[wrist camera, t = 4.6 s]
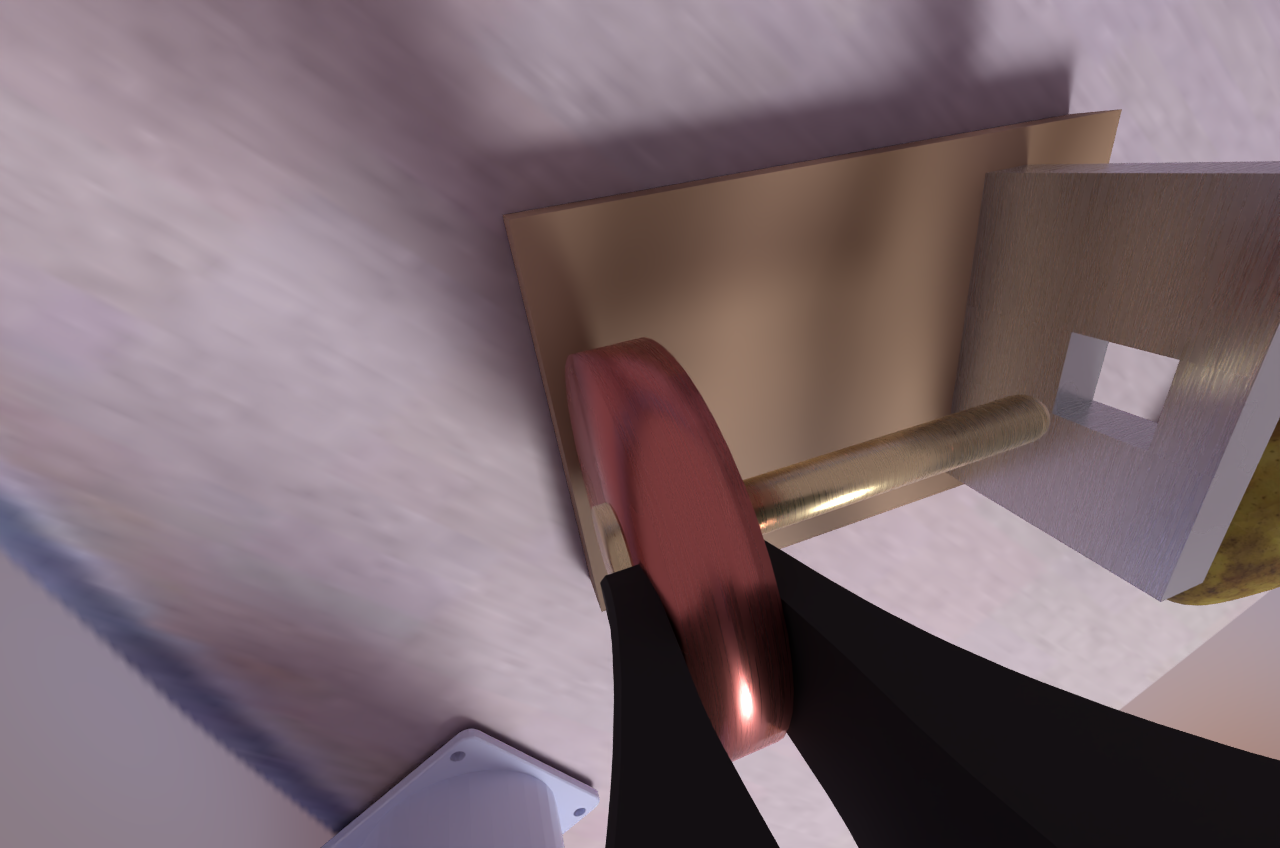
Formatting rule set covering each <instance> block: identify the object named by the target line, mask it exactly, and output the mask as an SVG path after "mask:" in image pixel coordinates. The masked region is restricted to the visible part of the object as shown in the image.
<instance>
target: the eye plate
mask: <svg viewBox="0 0 1280 848" xmlns="http://www.w3.org/2000/svg"><path fill="white" fill-rule="evenodd" d="M1109 342H1112V343H1116V344H1120V345H1124V346H1128V347H1132V348H1136V349H1140V350H1144V351H1147V352H1151V353H1155V354H1159V355H1163V356H1167V357H1171V358H1175V359H1179V360H1180V361H1179V364H1178V367H1177V370H1176V373H1175V376H1174V378H1173V381H1172V384H1171V387H1170V390H1169V393H1168V396H1167V398H1166V401H1165V404H1164V407H1163V410H1162V413H1161V416H1160V419H1159V421H1158V423H1156V422H1153V421H1150V420H1147V419H1144V418H1141V417H1139V416H1136V415H1133V414H1130V413H1127V412H1124V411H1122V410H1119V409H1116V408H1113V407H1110V406H1107V405H1105V404H1102V403H1099V402H1096V401H1093V396H1094V393H1095V389H1096V386H1097V382H1098V379H1099V375H1100V371H1101V368H1102V364H1103V361H1104V357H1105V353H1106V350H1107V346H1108V343H1109ZM1018 394H1020V395H1029V396H1032V397H1035V398H1037V399H1038V400H1040V401H1041V402H1042V403H1043V404H1044V405H1045V406H1046V407H1047V409H1048V411H1049V414H1050V425H1049V428H1048V430H1047V431H1046V433H1045V434H1044V435H1043V436H1042V437H1040V438H1039V439H1037V440H1036V441H1034V442H1031V443H1028V444H1025V445H1022V446H1020V447H1017V448H1014V449H1011V450H1008V451H1005V452H1002V453H999V454H996V455H993V456H990V457H987V458H985V459H982V460H979V461H976V462H973V463H970V464H967V465H964V466H961V467H958V468H955V469H953V470H950V471H947V472H946V473H947V474H949V475H951V476H952V477H954V478H956V479H957V480H959V481H961V482H962V483H964V484H966V485H967V486H969V487H971V488H972V489H974V490H976V491H977V492H979V493H981V494H982V495H984V496H986V497H987V498H989V499H991V500H992V501H994V502H996V503H997V504H999V505H1001V506H1002V507H1004V508H1006V509H1007V510H1009V511H1011V512H1012V513H1014V514H1015V515H1017V516H1019V517H1020V518H1022V519H1024V520H1025V521H1027V522H1029V523H1030V524H1032V525H1034V526H1035V527H1037V528H1039V529H1040V530H1042V531H1044V532H1045V533H1047V534H1049V535H1050V536H1052V537H1054V538H1055V539H1057V540H1059V541H1060V542H1062V543H1064V544H1065V545H1067V546H1069V547H1070V548H1072V549H1074V550H1075V551H1077V552H1079V553H1080V554H1082V555H1084V556H1085V557H1087V558H1089V559H1090V560H1092V561H1094V562H1095V563H1097V564H1099V565H1100V566H1102V567H1104V568H1105V569H1107V570H1109V571H1110V572H1112V573H1114V574H1115V575H1117V576H1119V577H1120V578H1122V579H1124V580H1125V581H1127V582H1129V583H1130V584H1132V585H1134V586H1135V587H1137V588H1138V589H1140V590H1142V591H1143V592H1145V593H1147V594H1148V595H1150V596H1152V597H1153V598H1155V599H1157V600H1158V601H1160V602H1162V601H1164V600H1166V599H1168V598H1170V597H1173V596H1175V595H1177V594H1179V593H1181V592H1184V591H1186V590H1188V589H1190V588H1192V587H1194V586H1197V585H1199V584H1201V583H1203V581H1204V579H1205V577H1206V575H1207V573H1208V570H1209V568H1210V566H1211V564H1212V562H1213V560H1214V557H1215V555H1216V553H1217V551H1218V549H1219V547H1220V545H1221V542H1222V540H1223V538H1224V536H1225V534H1226V532H1227V530H1228V527H1229V525H1230V523H1231V521H1232V519H1233V517H1234V515H1235V512H1236V510H1237V508H1238V506H1239V504H1240V502H1241V500H1242V497H1243V495H1244V493H1245V491H1246V489H1247V487H1248V485H1249V482H1250V480H1251V478H1252V476H1253V474H1254V472H1255V469H1256V467H1257V465H1258V463H1259V461H1260V459H1261V457H1262V454H1263V452H1264V450H1265V448H1266V446H1267V444H1268V442H1269V439H1270V437H1271V435H1272V433H1273V431H1274V429H1275V427H1276V424H1277V422H1278V420H1279V418H1280V161H1268V162H1189V163H1110V164H1031V165H1023V166H1018V167H1013V168H1008V169H1003V170H998V171H993V172H988V173H986V175H985V182H984V189H983V195H982V202H981V209H980V216H979V223H978V230H977V237H976V243H975V250H974V257H973V264H972V271H971V278H970V285H969V292H968V298H967V305H966V312H965V319H964V326H963V333H962V340H961V346H960V353H959V360H958V367H957V374H956V381H955V388H954V394H953V401H952V408H951V414H954V413H957V412H960V411H963V410H966V409H970V408H973V407H976V406H979V405H982V404H985V403H989V402H992V401H995V400H998V399H1001V398H1004V397H1008V396H1011V395H1018Z"/></svg>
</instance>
